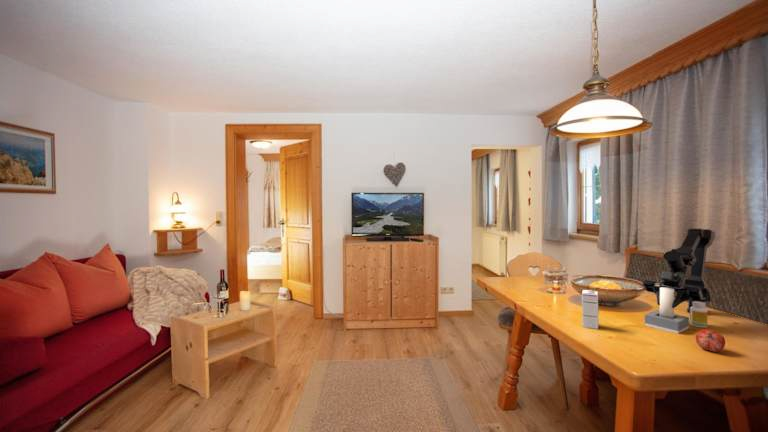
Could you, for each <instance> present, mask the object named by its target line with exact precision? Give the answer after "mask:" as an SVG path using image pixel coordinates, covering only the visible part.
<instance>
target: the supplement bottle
mask: <svg viewBox="0 0 768 432" xmlns="http://www.w3.org/2000/svg"><path fill="white" fill-rule="evenodd" d="M692 305H693V306H692V307H690V312H689V325H691V326H694V327H696V328H703V329H705V328H708V316H709V315H708V314H709V313H708V309H707V308H706V302H705V303H703V302H698V301H693V302H692Z"/></svg>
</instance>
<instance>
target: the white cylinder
mask: <svg viewBox="0 0 768 432" xmlns="http://www.w3.org/2000/svg"><path fill="white" fill-rule="evenodd" d="M674 300H675V292H674V289H673V288H667V287H660V305H659V311H660V314H659V316H660V317H664V318H669V319H674V314H675V308H672V305H673V302H674Z"/></svg>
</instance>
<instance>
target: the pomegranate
mask: <svg viewBox="0 0 768 432" xmlns="http://www.w3.org/2000/svg"><path fill="white" fill-rule="evenodd" d="M695 341H696V343H697V345H698V346H699V347H700V348H702V350H705V351H710V352H715V353H718V352H721V351H723V350H724V348H725V345H726V339H725V337H724V336H723V335H722V334H721V333H718V332H717V331H715V330H714V329H711V328H706V329H705V328H703V329H702V330H700V331H697V333H696V334H695Z"/></svg>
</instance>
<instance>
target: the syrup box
mask: <svg viewBox="0 0 768 432" xmlns="http://www.w3.org/2000/svg"><path fill="white" fill-rule="evenodd" d="M599 311H600V310H599V291H597V290H592V289H590V290H589V289H582V292H581V313H582V315H581V316H582V317H581V318H582V320H581V321H582V322H581V323H582V324H581V325H582V327H583V328H587V329H588V328H589V329H593V330H594V329H595V330H599V324H600V323H599V321H600V320H599V314H600V313H599Z"/></svg>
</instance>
